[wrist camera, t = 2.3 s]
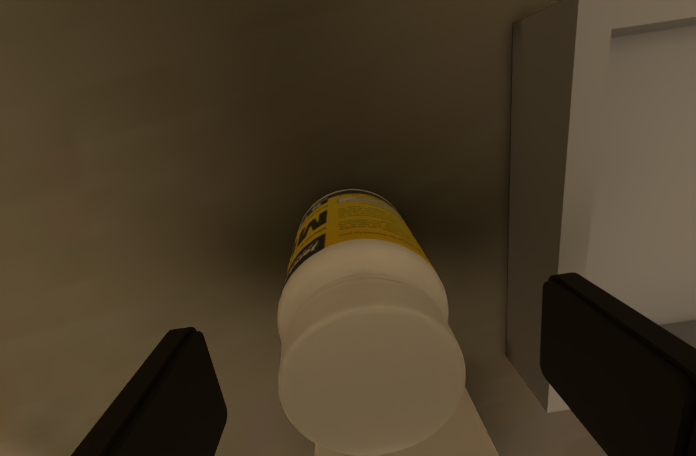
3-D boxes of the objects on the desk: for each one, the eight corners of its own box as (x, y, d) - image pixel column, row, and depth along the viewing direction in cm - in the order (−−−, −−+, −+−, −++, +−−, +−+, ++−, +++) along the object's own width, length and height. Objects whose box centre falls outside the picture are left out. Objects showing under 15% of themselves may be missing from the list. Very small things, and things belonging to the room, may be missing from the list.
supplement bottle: (311, 173, 14) (288, 259, 6) (419, 202, 15) (526, 315, 7) (286, 275, 15) (239, 453, 7) (385, 298, 16) (439, 484, 8)
